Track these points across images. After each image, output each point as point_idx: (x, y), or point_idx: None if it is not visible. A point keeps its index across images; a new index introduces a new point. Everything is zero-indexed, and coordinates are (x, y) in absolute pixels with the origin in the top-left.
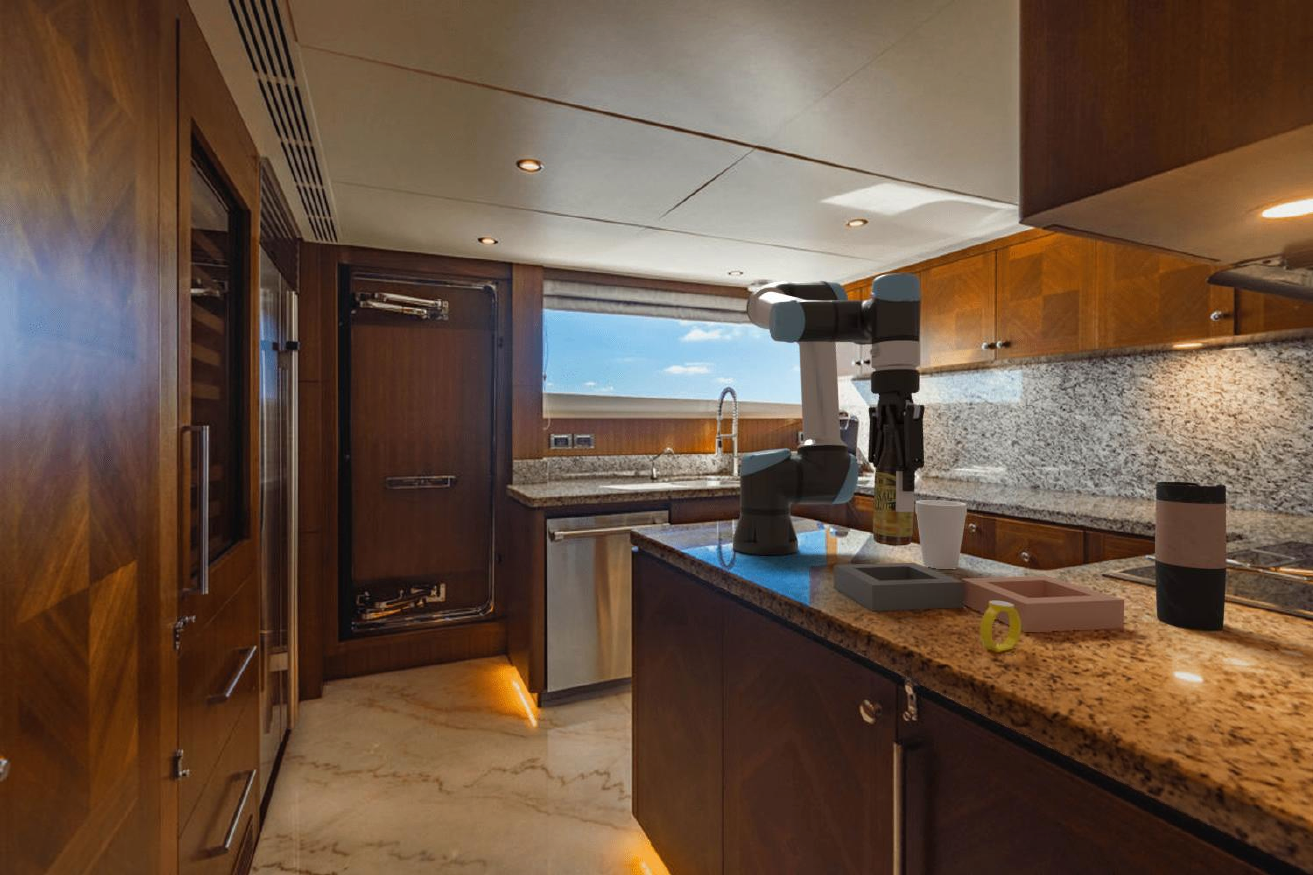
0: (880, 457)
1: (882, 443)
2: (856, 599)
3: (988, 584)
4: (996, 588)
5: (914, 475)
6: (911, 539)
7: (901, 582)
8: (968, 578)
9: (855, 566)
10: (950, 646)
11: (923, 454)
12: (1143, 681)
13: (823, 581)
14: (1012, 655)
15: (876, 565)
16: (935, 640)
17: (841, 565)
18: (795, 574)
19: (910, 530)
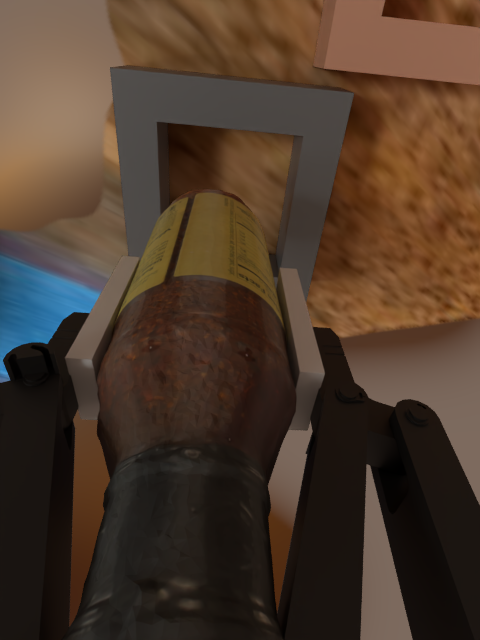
0: (69, 457)
1: (68, 556)
2: None
3: (402, 33)
4: (441, 46)
5: (351, 377)
6: (244, 204)
7: (305, 245)
8: (328, 39)
9: None
10: (476, 268)
11: (460, 468)
12: None
13: (91, 265)
14: None
15: (143, 205)
16: (448, 272)
17: None
18: (33, 290)
19: (262, 232)
